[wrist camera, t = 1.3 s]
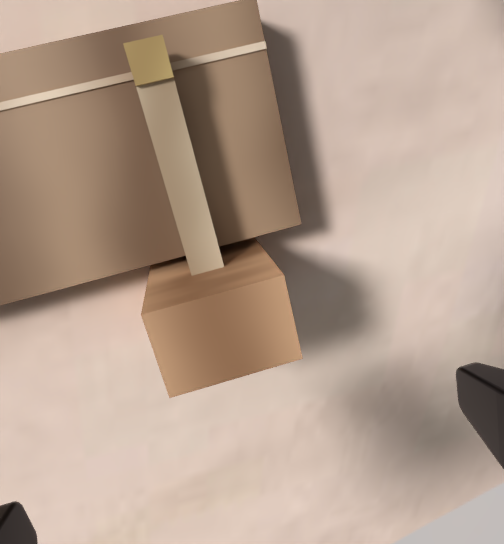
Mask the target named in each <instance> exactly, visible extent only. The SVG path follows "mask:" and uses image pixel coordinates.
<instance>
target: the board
mask: <svg viewBox="0 0 504 544" xmlns="http://www.w3.org/2000/svg"><path fill="white" fill-rule="evenodd" d="M158 35H163V38H164V42H165V46H166V50H167V53H168V57H169V61H170V65H171V68H172V72H173V76H174V80H175V84H176V88H177V92H178V95H179V99H180V103H181V107H182V110H183V114H184V118H185V122H186V125H187V129H188V133H189V137H190V140H191V144H192V148H193V152H194V155H195V159H196V163H197V167H198V170H199V174H200V178H201V182H202V186H203V189H204V193H205V197H206V201H207V204H208V208H209V212H210V216H211V219H212V223H213V227H214V231H215V234H216V238H217V242H218V246H223V245H227V244H231V243H234V242H238V241H242V240H245V239H249V238H253V237H257V236H260V235H264V234H268V233H271V232H275V231H279V230H283V229H286V228H290V227H294V226H297V225H301V219H300V214H299V209H298V204H297V199H296V194H295V189H294V184H293V179H292V174H291V169H290V164H289V159H288V154H287V149H286V144H285V139H284V134H283V129H282V124H281V119H280V114H279V110H278V105H277V100H276V95H275V90H274V85H273V80H272V75H271V70H270V65H269V60H268V55H267V50H266V49H267V47H266V42H265V40H264V35H263V30H262V25H261V20H260V15H259V10H258V5H257V0H239V1H235V2H230V3H226V4H221V5H217V6H212V7H208V8H203V9H199V10H194V11H190V12H185V13H181V14H176V15H172V16H167V17H163V18H158V19H154V20H149V21H145V22H140V23H136V24H131V25H127V26H122V27H118V28H113V29H109V30H104V31H100V32H95V33H91V34H86V35H82V36H77V37H73V38H68V39H64V40H59V41H55V42H50V43H46V44H41V45H37V46H32V47H28V48H23V49H19V50H14V51H10V52H5V53H1V54H0V306H1V305H4V304H8V303H12V302H15V301H19V300H23V299H27V298H30V297H34V296H38V295H41V294H45V293H49V292H53V291H56V290H60V289H64V288H67V287H71V286H75V285H78V284H82V283H86V282H90V281H93V280H97V279H101V278H104V277H108V276H112V275H116V274H119V273H123V272H127V271H130V270H134V269H138V268H142V267H145V266H149V265H153V264H156V263H160V262H164V261H168V260H171V259H175V258H179V257H182V256H186V255H185V252H184V248H183V245H182V241H181V238H180V234H179V231H178V228H177V224H176V221H175V217H174V214H173V211H172V207H171V204H170V200H169V197H168V194H167V190H166V187H165V183H164V180H163V177H162V173H161V170H160V166H159V163H158V160H157V156H156V153H155V149H154V146H153V142H152V139H151V136H150V132H149V129H148V125H147V122H146V119H145V115H144V112H143V108H142V105H141V102H140V98H139V95H138V91H137V88H136V86H135V82H134V79H133V75H132V72H131V69H130V65H129V62H128V58H127V55H126V52H125V48H124V45H123V43H127V42H132V41H136V40H141V39H145V38H150V37H154V36H158Z"/></svg>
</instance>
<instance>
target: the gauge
mask: <svg viewBox="0 0 504 544" xmlns="http://www.w3.org/2000/svg"><path fill="white" fill-rule="evenodd" d="M123 45H124V48H125V52H126V55H127V58H128V62H129V65H130V69H131V72H132V75H133V79H134V82H135V86H136V88H137V91H138V95H139V98H140V102H141V105H142V108H143V112H144V115H145V119H146V122H147V125H148V129H149V132H150V136H151V139H152V142H153V146H154V149H155V153H156V156H157V160H158V163H159V166H160V170H161V173H162V177H163V180H164V183H165V187H166V190H167V194H168V197H169V200H170V204H171V207H172V211H173V214H174V217H175V221H176V224H177V228H178V231H179V234H180V238H181V241H182V245H183V248H184V252H185V255H186V256H182V257H179V258H175V259H171V260H168V261H164V262H160V263H156V264H153V265H151V266H150V271H149V276H148V281H147V287H146V292H145V297H144V302H143V307H142V313H141V316H142V319H143V322H144V325H145V328H146V331H147V334H148V337H149V340H150V342H151V345H152V348H153V351H154V354H155V357H156V360H157V363H158V366H159V369H160V372H161V375H162V377H163V380H164V383H165V386H166V389H167V392H168V395H169V398H171V397H175V396H178V395H182V394H185V393H188V392H192V391H195V390H198V389H202V388H205V387H209V386H212V385H215V384H219V383H222V382H225V381H229V380H232V379H236V378H239V377H242V376H246V375H249V374H252V373H256V372H259V371H263V370H266V369H269V368H273V367H276V366H279V365H283V364H286V363H290V362H293V361H296V360H300V359H303V358H302V353H301V349H300V344H299V340H298V335H297V331H296V326H295V322H294V317H293V313H292V308H291V303H290V299H289V294H288V290H287V285H286V281H285V276H284V274H283V273H282V272H281V270H280V269H279V268H278V267H277V265H276V264H275V263H274V261H273V260H272V259H271V258H270V256H269V255H268V254H267V253H266V251H265V250H264V249H263V247H262V246H261V245H260V244H259V242H258V241H257V240H256V239H255V237H253V238H249V239H245V240H242V241H238V242H234V243H231V244H227V245H223V246H218V242H217V238H216V234H215V231H214V227H213V223H212V219H211V216H210V212H209V208H208V204H207V201H206V197H205V193H204V189H203V186H202V182H201V178H200V174H199V170H198V167H197V163H196V159H195V155H194V152H193V148H192V144H191V140H190V137H189V133H188V129H187V125H186V122H185V118H184V114H183V110H182V107H181V103H180V99H179V95H178V92H177V88H176V84H175V80H174V76H173V72H172V68H171V65H170V61H169V57H168V53H167V50H166V46H165V42H164V38H163V35H158V36H154V37H150V38H145V39H141V40H136V41H132V42H127V43H123Z"/></svg>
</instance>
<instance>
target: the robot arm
mask: <svg viewBox="0 0 504 544" xmlns="http://www.w3.org/2000/svg"><path fill="white" fill-rule="evenodd" d="M456 381H457V392H458V402H459V405H460V408H461V410H462V412H463V413H464V415H465V416H466V417H467V419H468V420H469V422H470V423H471V424H472V426H473V427H474V429H475V430H476V431H477V433H478V434H479V436H480V437H481V438H482V440H483V441H484V443H485V444H486V445H487V447H488V448H489V450H490V451H491V452H492V454H493V455H494V457H495V458H496V459H497V461H498V462H499V464H500V465H501V466H502V468H503V469H504V369H500V368H496V367H492V366H489V365H485V364H481V363H471V364H468V365H464V366H461V367H459V368H458V369H457V371H456ZM0 544H37V535H36V531H35V529H34V527H33V525H32V523H31V521H30V519H29V517H28V516H27V514H26V512H25V510H24V508H23V506H22V505H21V504H20V503H19V502H16V501H14V502H11V503H7V504H4V505H1V506H0Z"/></svg>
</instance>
